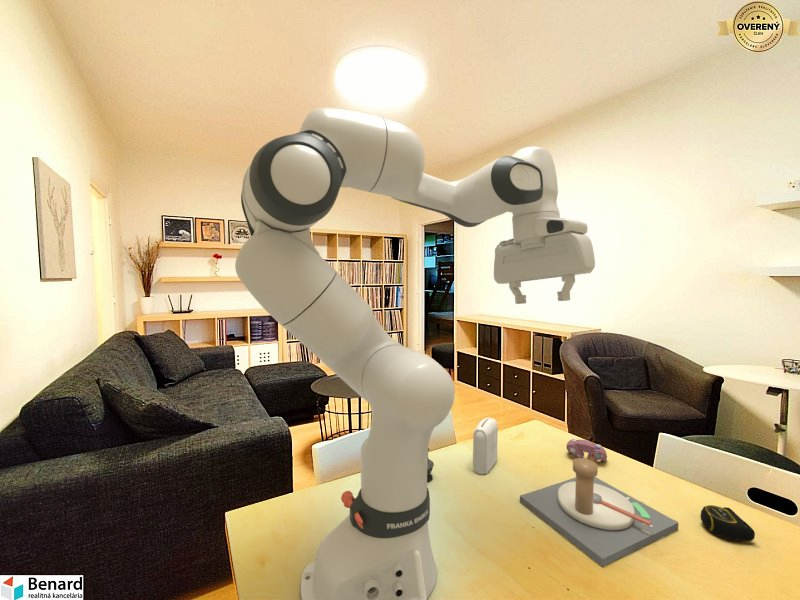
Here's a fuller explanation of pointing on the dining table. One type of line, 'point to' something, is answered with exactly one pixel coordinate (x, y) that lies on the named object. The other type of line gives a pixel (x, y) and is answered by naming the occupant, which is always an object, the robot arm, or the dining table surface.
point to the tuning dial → (595, 500)
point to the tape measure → (726, 523)
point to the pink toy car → (586, 450)
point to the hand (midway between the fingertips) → (541, 302)
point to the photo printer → (485, 445)
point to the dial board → (595, 540)
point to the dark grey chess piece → (429, 469)
